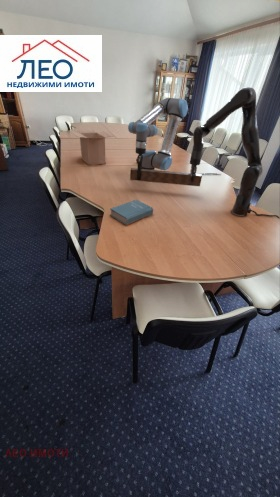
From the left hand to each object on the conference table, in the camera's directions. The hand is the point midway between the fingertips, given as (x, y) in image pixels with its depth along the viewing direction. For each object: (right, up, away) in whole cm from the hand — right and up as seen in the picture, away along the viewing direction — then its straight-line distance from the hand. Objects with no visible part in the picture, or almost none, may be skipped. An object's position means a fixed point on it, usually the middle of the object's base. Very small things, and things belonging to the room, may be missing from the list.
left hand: (139, 179), depth 174 cm
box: (-49, +39, +63) cm, 89 cm away
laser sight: (+7, +37, +66) cm, 76 cm away
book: (-5, -33, -30) cm, 45 cm away
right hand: (+40, -2, -4) cm, 40 cm away
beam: (+20, -3, -1) cm, 20 cm away
